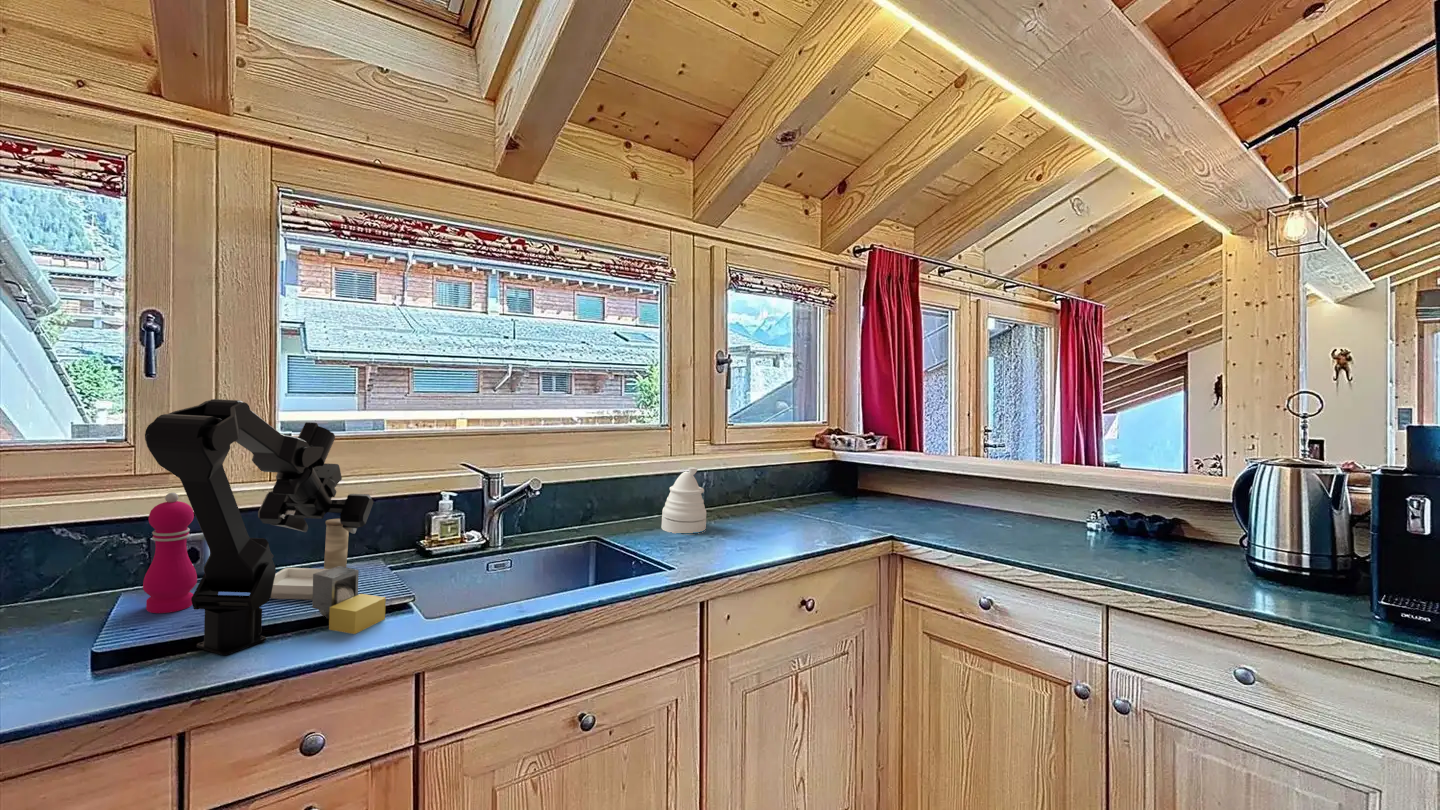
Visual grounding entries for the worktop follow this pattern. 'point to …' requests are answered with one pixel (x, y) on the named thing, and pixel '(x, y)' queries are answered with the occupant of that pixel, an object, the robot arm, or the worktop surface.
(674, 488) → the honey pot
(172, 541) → the pepper mill
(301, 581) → the tray
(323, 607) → the wheel bracket
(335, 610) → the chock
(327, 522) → the pin
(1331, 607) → the worktop surface
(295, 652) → the worktop surface
